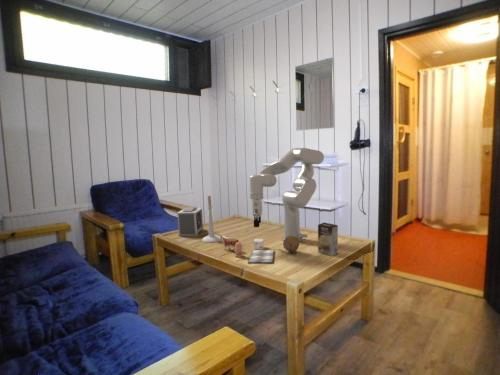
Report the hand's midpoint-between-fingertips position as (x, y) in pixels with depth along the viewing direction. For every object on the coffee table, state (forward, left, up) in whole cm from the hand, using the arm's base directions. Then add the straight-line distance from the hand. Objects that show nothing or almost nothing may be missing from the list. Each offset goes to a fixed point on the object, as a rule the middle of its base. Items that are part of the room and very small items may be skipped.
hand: (257, 224), depth 180 cm
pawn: (+10, +13, -14) cm, 21 cm away
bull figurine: (+17, +3, -15) cm, 22 cm away
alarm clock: (+52, -35, -15) cm, 65 cm away
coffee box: (-39, +8, -15) cm, 43 cm away
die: (0, 0, -14) cm, 14 cm away
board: (-3, +15, -14) cm, 21 cm away
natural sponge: (-19, +8, -14) cm, 25 cm away
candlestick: (+33, -17, -15) cm, 40 cm away
